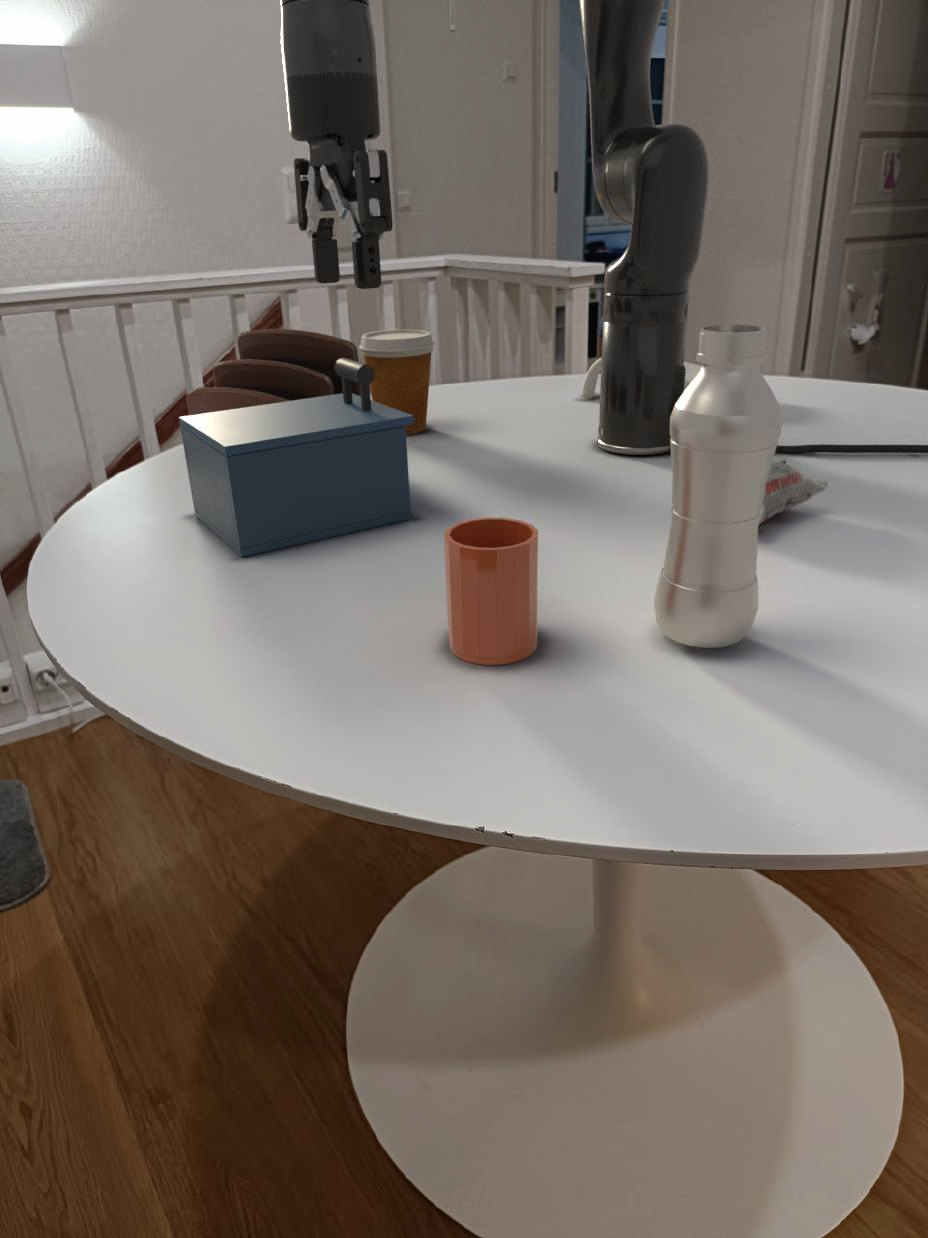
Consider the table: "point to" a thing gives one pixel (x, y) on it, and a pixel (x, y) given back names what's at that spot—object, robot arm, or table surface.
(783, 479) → the packaged food
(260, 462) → the dark blue rectangular box
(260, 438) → the lid
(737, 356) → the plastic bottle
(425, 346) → the disposable coffee cup
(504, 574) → the cup
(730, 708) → the table surface
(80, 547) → the table surface
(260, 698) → the table surface
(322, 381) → the letter holder
